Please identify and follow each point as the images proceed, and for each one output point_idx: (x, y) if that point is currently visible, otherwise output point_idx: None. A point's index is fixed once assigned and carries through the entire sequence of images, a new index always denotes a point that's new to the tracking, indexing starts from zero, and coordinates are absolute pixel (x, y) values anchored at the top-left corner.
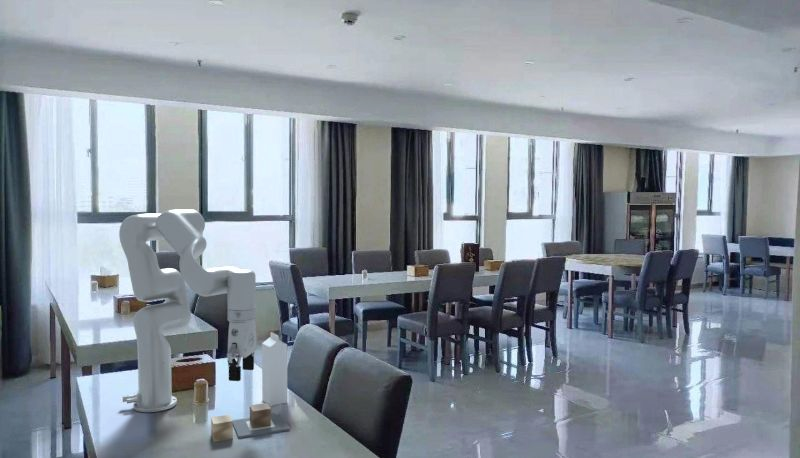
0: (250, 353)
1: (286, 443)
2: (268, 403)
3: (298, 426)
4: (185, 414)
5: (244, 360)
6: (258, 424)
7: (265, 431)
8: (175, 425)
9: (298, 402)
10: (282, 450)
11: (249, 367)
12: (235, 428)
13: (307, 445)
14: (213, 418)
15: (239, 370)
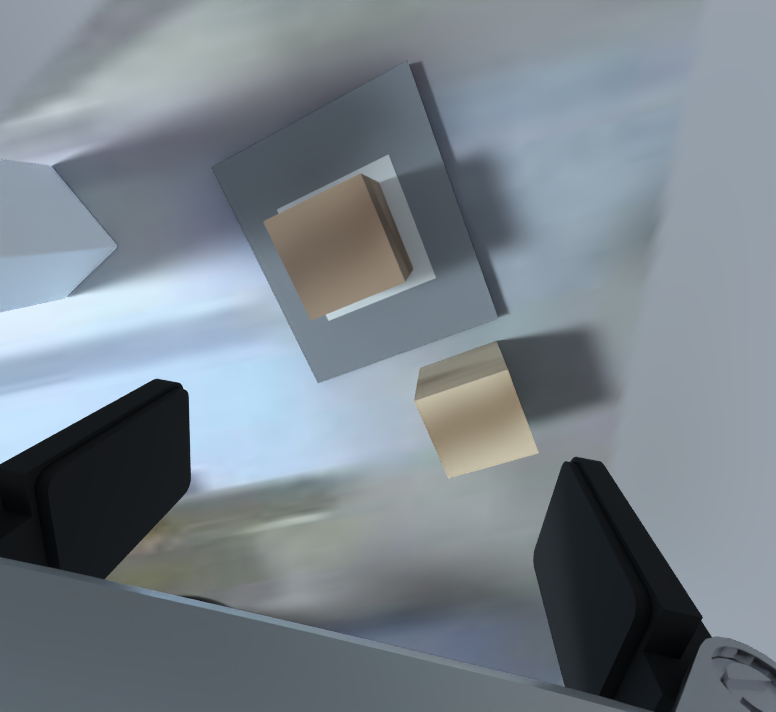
0: (337, 667)
1: (587, 41)
2: (100, 258)
3: (354, 18)
4: (257, 554)
5: (111, 547)
6: (402, 244)
7: (447, 196)
8: (358, 566)
9: (33, 99)
10: (682, 44)
11: (172, 433)
12: (408, 350)
13: None
14: (464, 465)
15: (658, 564)
